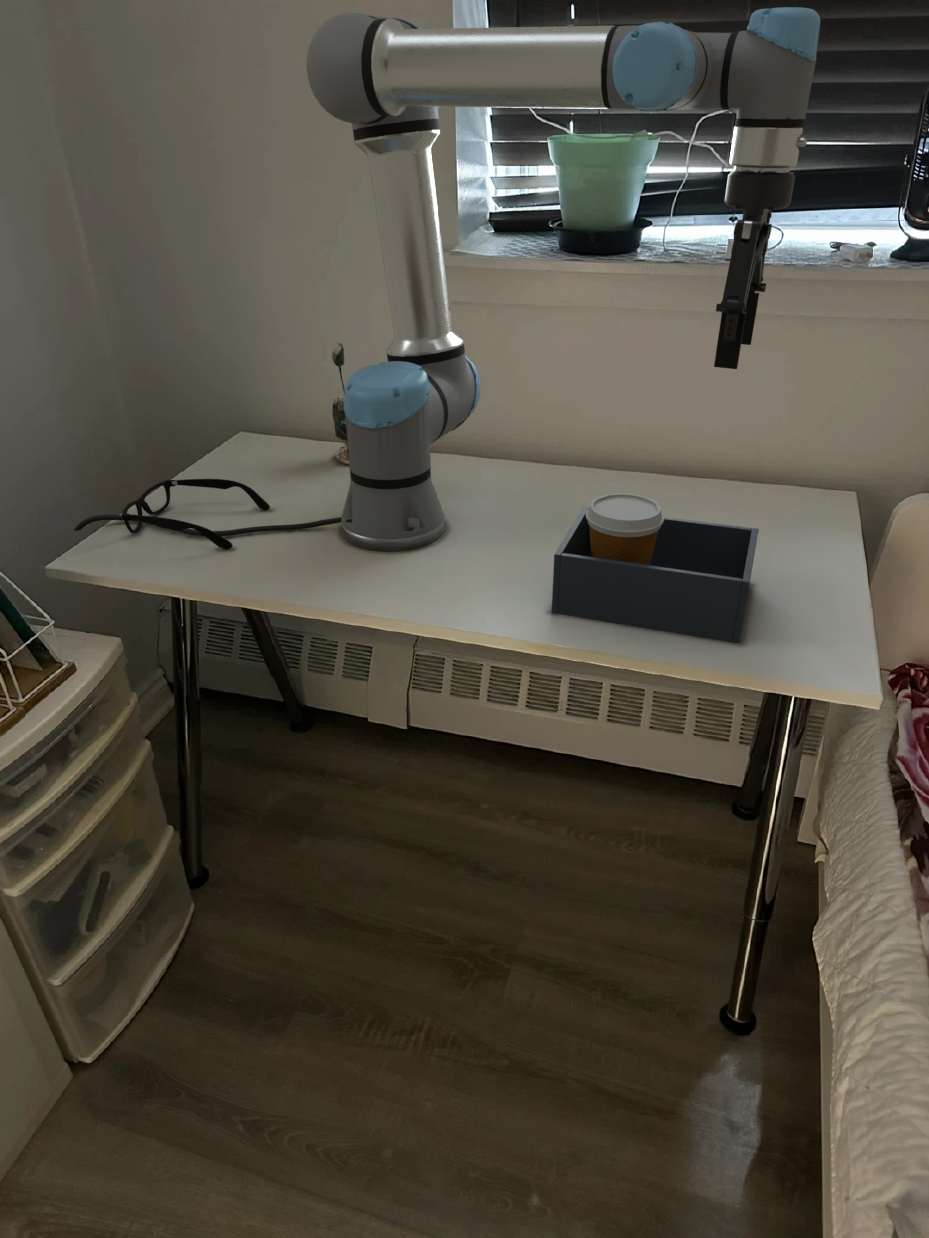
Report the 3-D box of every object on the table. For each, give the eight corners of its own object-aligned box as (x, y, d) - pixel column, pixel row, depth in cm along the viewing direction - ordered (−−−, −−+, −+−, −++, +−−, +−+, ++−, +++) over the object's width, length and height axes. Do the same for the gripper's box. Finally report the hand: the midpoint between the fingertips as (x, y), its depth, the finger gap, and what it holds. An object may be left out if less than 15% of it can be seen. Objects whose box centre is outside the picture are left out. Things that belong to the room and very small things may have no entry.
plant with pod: (322, 469, 155) (311, 352, 145) (342, 447, 165) (334, 337, 155) (366, 472, 154) (359, 355, 144) (385, 450, 163) (379, 339, 153)
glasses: (169, 505, 143) (163, 476, 141) (272, 507, 140) (267, 477, 137) (116, 548, 129) (107, 516, 127) (229, 552, 126) (223, 519, 123)
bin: (551, 612, 110) (554, 554, 106) (580, 560, 123) (583, 506, 119) (739, 643, 103) (749, 582, 99) (749, 584, 116) (758, 528, 112)
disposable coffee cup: (638, 618, 109) (647, 528, 103) (568, 598, 113) (573, 511, 107) (666, 587, 116) (676, 501, 110) (599, 569, 120) (605, 486, 114)
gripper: (786, 177, 92) (751, 382, 102) (804, 165, 112) (773, 337, 122) (712, 175, 94) (686, 375, 105) (743, 163, 114) (718, 332, 125)
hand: (733, 355), depth 114 cm, fingers open, 13 cm apart
